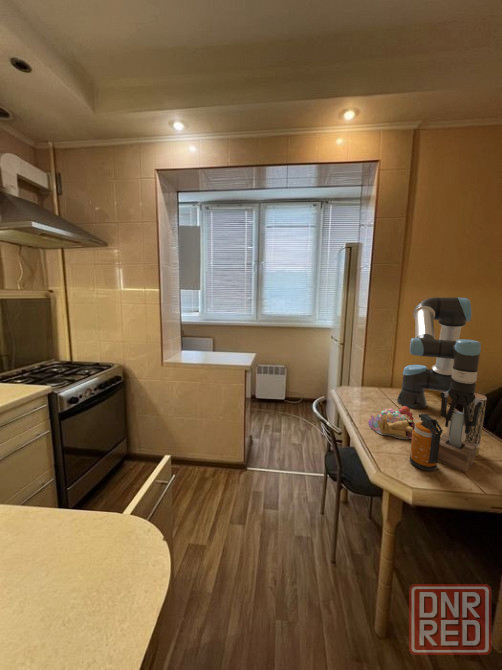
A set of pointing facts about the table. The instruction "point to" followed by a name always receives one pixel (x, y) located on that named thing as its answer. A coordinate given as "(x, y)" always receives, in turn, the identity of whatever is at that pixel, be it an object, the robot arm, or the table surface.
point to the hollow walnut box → (456, 454)
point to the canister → (425, 443)
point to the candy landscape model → (393, 423)
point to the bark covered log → (476, 431)
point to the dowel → (456, 429)
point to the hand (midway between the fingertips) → (455, 437)
